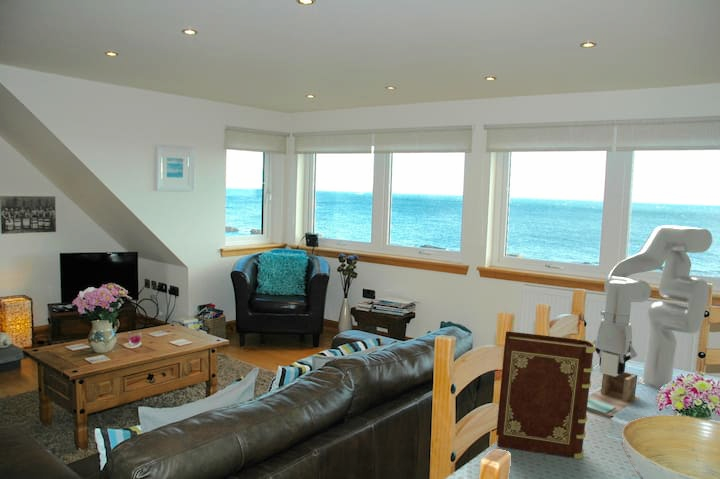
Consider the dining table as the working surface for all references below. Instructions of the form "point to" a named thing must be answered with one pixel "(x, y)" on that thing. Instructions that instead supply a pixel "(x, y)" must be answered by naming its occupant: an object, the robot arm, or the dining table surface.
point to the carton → (609, 363)
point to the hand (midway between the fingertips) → (611, 370)
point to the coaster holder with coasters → (613, 394)
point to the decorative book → (544, 394)
